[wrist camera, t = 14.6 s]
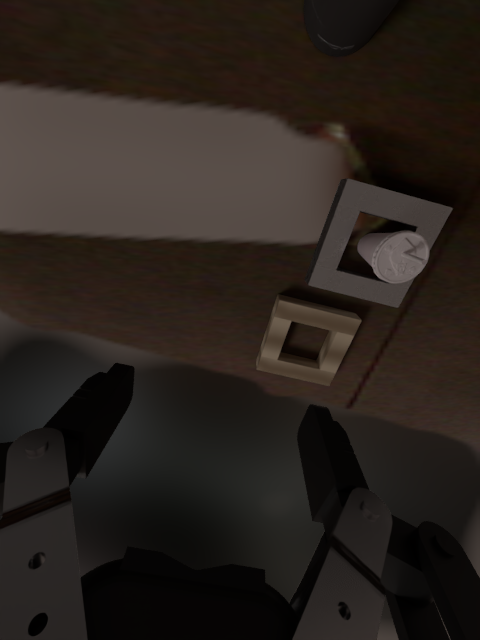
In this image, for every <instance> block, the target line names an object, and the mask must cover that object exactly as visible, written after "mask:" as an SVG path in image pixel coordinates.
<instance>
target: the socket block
mask: <svg viewBox="0 0 480 640" xmlns="http://www.w3.org/2000/svg"><path fill="white" fill-rule="evenodd" d="M291 321H294V322H298V323H302V324H306V325H311V326H315V327H319V328H323V329H327V330H329V333H328V335H327V337H326V339H325V342H324V344H323V346H322V348H321V351H320V353H319V355H318V357H317V360H313V359H308V358H304V357H300V356H295V355H291V354H287V353H282V352H280V351H281V348H282V346H283V343H284V340H285V338H286V335H287V332H288V329H289V327H290V324H291ZM361 321H362V320H361V319H360V318H359V317H358V316H357V314H356V313H353V312H349V311H345V310H341V309H337V308H333V307H329V306H325V305H321V304H317V303H312V302H308V301H304V300H300V299H296V298H292V297H288V296H284V295H280V294H278V295H277V298H276V302H275V305H274V308H273V311H272V314H271V317H270V320H269V323H268V326H267V329H266V332H265V335H264V339H263V342H262V345H261V348H260V351H259V354H258V357H257V360H256V362H257V370H261V371H265V372H270V373H274V374H279V375H283V376H287V377H292V378H296V379H301V380H305V381H309V382H314V383H318V384H323V385H327V386H329V385H330V383H331V381H332V379H333V377H334V375H335V373H336V371H337V369H338V367H339V365H340V363H341V361H342V359H343V357H344V355H345V353H346V351H347V349H348V347H349V345H350V343H351V341H352V339H353V337H354V335H355V333H356V331H357V329H358V327H359V325H360V323H361Z"/></svg>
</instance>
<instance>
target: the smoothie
mask: <svg viewBox="0 0 480 640" xmlns="http://www.w3.org/2000/svg"><path fill="white" fill-rule="evenodd" d="M358 252H359V254H360V255H361V256H362V257H363V258H364V259H365V260H366V261H367V262H368V263H369V264H370V265H371V266H372V268H373V271H374V273H375V274H376V275H377V277H379V278H380V279H382V280H384V281H386V282H389V283H403V282H406V281H409V280H411V279H412V278H414V277H415V276H417V275H418V274H419V273H420V272H421V271H422V270H423V268H424V267H425V265H426V264H427V261H428V258H429V245H428V242H427V241H426V239H425V238H424V237H423V236H422V235H420V234H418V233H415V232H412V231H398V232H394V233H369V234H367V235H365V236H363V237H362V238H361V239H360V241H359V243H358Z"/></svg>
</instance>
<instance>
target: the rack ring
mask: <svg viewBox="0 0 480 640" xmlns="http://www.w3.org/2000/svg"><path fill="white" fill-rule="evenodd" d="M452 209H453V208H451V207H448V206H444V205H441V204H437V203H434V202H430V201H426V200H423V199H419V198H416V197H412V196H409V195H405V194H402V193H398V192H394V191H391V190H387V189H384V188H380V187H377V186H373V185H369V184H366V183H362V182H359V181H355V180H352V179H348V178H347V179H342V180H341V181H340V183H339V186H338V189H337V191H336V194H335V197H334V200H333V203H332V205H331V208H330V211H329V214H328V216H327V219H326V222H325V225H324V227H323V230H322V233H321V236H320V238H319V241H318V244H317V247H316V249H315V252H314V255H313V258H312V260H311V263H310V266H309V269H308V271H307V274H306V277H305V281H306V283H307V284H308V285H309V286H313V287H317V288H321V289H325V290H329V291H333V292H337V293H341V294H345V295H349V296H353V297H357V298H361V299H365V300H369V301H373V302H377V303H381V304H385V305H389V306H393V307H397V308H398V307H399V305H400V303H401V302H402V300H403V298H404V296H405V294H406V292H407V291H408V289H409V287H410V285H411V283H412V282H413V280H414V278H415V277H414V278H412V279H411V280H409V281H406V282H403V283H389V282H386V281H384V280H382V279H380V278H377V277H373V276H369V275H365V274H362V273H358V272H354V271H350V270H346V269H342V268H338V264H339V262H340V259H341V257H342V255H343V252H344V250H345V247H346V245H347V242H348V240H349V238H350V235H351V233H352V230H353V228H354V225H355V223H356V220H357V218H358V216H359V213H360V212H362V213H366V214H369V215H373V216H377V217H380V218H384V219H388V220H391V221H395V222H399V223H402V224H406V227H405V229H404V231H412V232H415V233H418V234H420V235H422V236H423V237H424V238H425V239H426V241H427V242H428V245H429V251H430V249H431V247H432V245H433V244H434V242H435V240H436V238H437V236H438V235H439V233H440V231H441V229H442V227H443V225H444V224H445V222H446V220H447V218H448V216H449V215H450V213H451V211H452Z"/></svg>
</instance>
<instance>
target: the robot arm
mask: <svg viewBox="0 0 480 640" xmlns="http://www.w3.org/2000/svg"><path fill="white" fill-rule="evenodd" d="M398 1H399V0H304V20H305V24H306V29H307V32H308V34H309V36H310V39H311V40H312V42H313V43H314V45H315V46H316V47H317V48H318V49H319V50H321V51H322V52H323V53H325V54H327V55H330V56H336V57H340V56H347V55H349V54H352V53H354V52H356V51H357V50H359V49H360V48H362V47H363V46H364V45H365V44H366V43H367V42H368V41H369V40H370V39H371V37H372V36H373V35H374V33H375V32H376V31H377V29H378V28H379V27H380V25H381V24H382V22H383V21H384V20H385V19H386V17H387V16H388V15H389V13H390V12H391V11H392V9H393V8H394V7H395V5H396V4H397V3H398ZM133 385H134V367H133V366H129V365H124V364H119V363H115V364H114V365H113V366H112V367H111V369H110V370H109V371H108V372H107V373H103V372H99V373H97V374H95V375H93V376H92V377H90V378H88V379H87V380H86V381H85V382H84V383H83V385H82V386H81V387H80V389H78V390H77V391H76V392H75V393H74V394H73V396H72V397H71V398H70V399H69V400H68V401H67V402H66V403H65V404H64V405H63V406H62V407H61V409H59V411H58V412H57V413H56V414H55V415H54V416H53V417H52V418H51V419H50V420H49V422H48V423H47V424H46V425H45V426H44V427H43V428H39V429H35V430H32V431H29V432H27V433H25V434H23V435H22V436H20V437H19V438H17V440H15V441H14V442H8V443H0V516H2V519H1V520H0V640H377V634H378V630H379V625H380V620H381V615H382V610H383V604H384V599H385V595H386V598H387V602H388V605H389V608H390V612H391V615H392V618H393V622H394V625H395V628H396V632H397V635H398V638H399V640H450V639H451V640H480V578H479V576H478V575H477V573H476V571H475V569H474V568H473V566H472V564H471V562H470V560H469V559H468V557H467V555H466V553H465V552H464V550H463V548H462V547H461V545H460V544H459V543H458V542H457V540H456V539H455V538H454V537H453V536H452V535H451V534H450V533H449V532H448V531H446V530H445V529H444V528H442V527H441V526H439V525H437V524H435V523H433V522H428V521H426V522H425V521H424V522H422V523H421V524H420V525H419V526H418V527H417V528H416V527H414V526H412V525H410V524H408V523H406V522H405V521H403V520H401V519H399V518H397V517H395V516H393V515H392V514H391V513H390V511H389V509H388V507H387V506H386V505H385V503H384V502H383V501H382V500H381V499H380V498H379V497H378V496H377V495H376V494H375V493H373V492H372V491H370V490H369V488H368V485H367V483H366V480H365V478H364V476H363V473H362V471H361V468H360V466H359V463H358V461H357V458H356V456H355V454H354V451H353V448H352V446H351V445H350V441H349V439H348V436H347V434H346V432H345V430H344V429H343V428H342V427H341V425H340V424H339V423H338V422H337V421H333V419H332V417H331V414H330V411H329V409H328V408H327V407H322V406H317V405H309V407H308V409H307V411H306V413H305V415H304V418H303V420H302V422H301V424H300V426H299V429H298V435H297V441H298V447H299V452H300V458H301V463H302V468H303V474H304V479H305V484H306V489H307V495H308V500H309V505H310V511H311V516H312V521H315V522H321V523H323V525H324V529H325V532H324V533H323V535H322V537H321V539H320V541H319V543H318V545H317V548H316V550H315V552H314V554H313V556H312V558H311V561H310V563H309V565H308V567H307V569H306V571H305V574H304V576H303V578H302V580H301V582H300V584H299V586H298V588H297V590H296V591H295V593H294V595H293V597H292V599H291V600H290V602H289V603H288V601H287V600H286V599H285V598H284V597H283V596H282V595H281V594H280V593H279V592H278V591H277V590H275V589H274V588H273V587H271V586H270V585H268V584H267V583H265V570H263V569H257V568H252V567H245V566H239V565H234V564H230V565H225V566H219V567H213V568H208V569H202V570H194V569H192V568H190V567H188V566H186V565H184V564H182V563H181V562H179V561H177V560H175V559H173V558H172V557H170V556H168V555H166V554H164V553H162V552H157V551H151V550H145V549H139V548H134V547H127V550H126V553H125V555H124V558H122V559H117V560H113V561H110V562H107V563H105V564H103V565H100V566H98V567H96V568H94V569H93V570H91V571H89V572H88V573H86V574H85V575H84V576H82V577H81V578H80V571H79V561H78V553H77V544H76V536H75V528H74V518H73V511H72V501H71V494H70V488H69V487H70V485H71V484H72V482H73V480H74V479H75V477H80V478H87V476H88V474H89V473H90V471H91V469H92V468H93V466H94V464H95V463H96V461H97V459H98V458H99V456H100V454H101V452H102V451H103V449H104V448H105V446H106V444H107V443H108V441H109V439H110V437H111V436H112V434H113V432H114V431H115V429H116V427H117V426H118V424H119V422H120V421H121V419H122V417H123V416H124V414H125V412H126V411H127V409H128V407H129V405H130V403H131V400H132V396H133ZM434 600H435V603H436V605H437V607H438V610H439V612H440V615H441V617H442V619H443V622H444V624H445V626H446V629H447V631H448V634H449V636H450V639H449V637H448V634H447V632H446V630H445V627H444V625H443V622H442V620H441V617H440V615H439V613H438V611H437V608H436V605H435V603H434Z"/></svg>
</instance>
